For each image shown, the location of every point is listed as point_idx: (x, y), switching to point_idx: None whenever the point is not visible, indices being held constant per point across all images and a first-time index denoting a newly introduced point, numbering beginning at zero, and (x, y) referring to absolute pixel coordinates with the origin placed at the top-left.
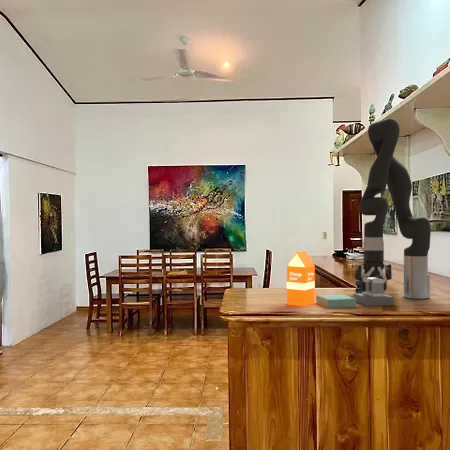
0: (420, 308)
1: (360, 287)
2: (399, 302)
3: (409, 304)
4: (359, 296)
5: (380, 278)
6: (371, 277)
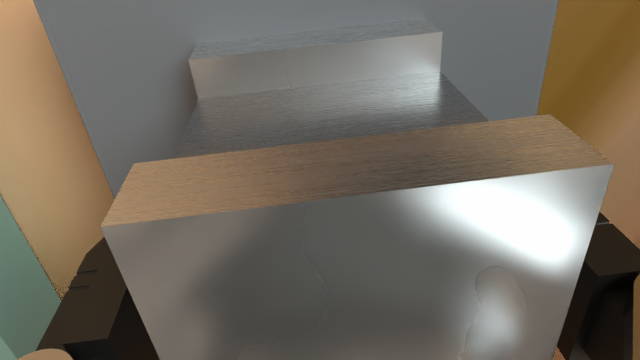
0: (561, 354)
1: (83, 280)
2: (630, 114)
3: (625, 221)
4: (116, 183)
5: (631, 326)
6: (476, 211)
